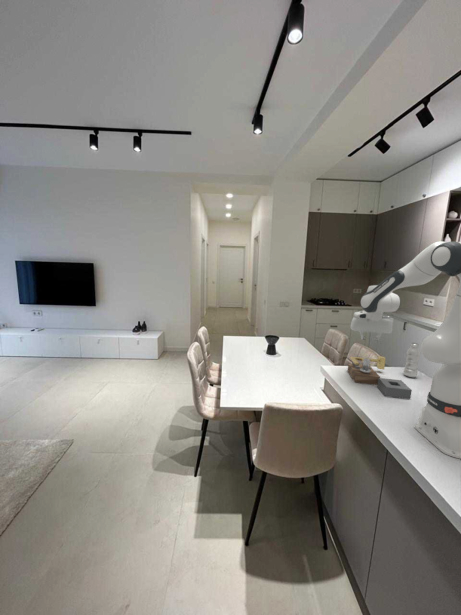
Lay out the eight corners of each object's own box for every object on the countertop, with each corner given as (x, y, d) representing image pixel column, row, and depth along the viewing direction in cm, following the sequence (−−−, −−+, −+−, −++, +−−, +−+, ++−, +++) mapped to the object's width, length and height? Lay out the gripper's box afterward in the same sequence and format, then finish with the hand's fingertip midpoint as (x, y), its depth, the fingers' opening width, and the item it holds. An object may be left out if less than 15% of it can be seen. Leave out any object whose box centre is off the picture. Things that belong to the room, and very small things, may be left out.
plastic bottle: (419, 379, 149) (425, 345, 145) (407, 378, 149) (413, 345, 145) (411, 374, 155) (417, 342, 152) (400, 373, 155) (405, 341, 152)
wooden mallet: (390, 375, 146) (391, 363, 145) (354, 371, 149) (356, 360, 148) (382, 367, 157) (383, 356, 156) (349, 364, 160) (350, 353, 159)
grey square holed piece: (410, 399, 124) (411, 390, 124) (385, 396, 126) (386, 387, 126) (399, 388, 135) (401, 380, 134) (377, 386, 137) (378, 377, 136)
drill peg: (370, 382, 141) (373, 361, 139) (360, 381, 142) (363, 360, 140) (367, 378, 146) (370, 358, 144) (357, 377, 147) (360, 357, 145)
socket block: (379, 385, 138) (380, 374, 137) (355, 382, 140) (356, 371, 139) (368, 373, 154) (370, 363, 153) (347, 371, 156) (348, 361, 155)
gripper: (391, 315, 139) (387, 340, 142) (351, 312, 143) (348, 336, 145) (396, 317, 133) (392, 343, 136) (354, 314, 137) (351, 339, 139)
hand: (369, 340), depth 140 cm, fingers open, 5 cm apart
